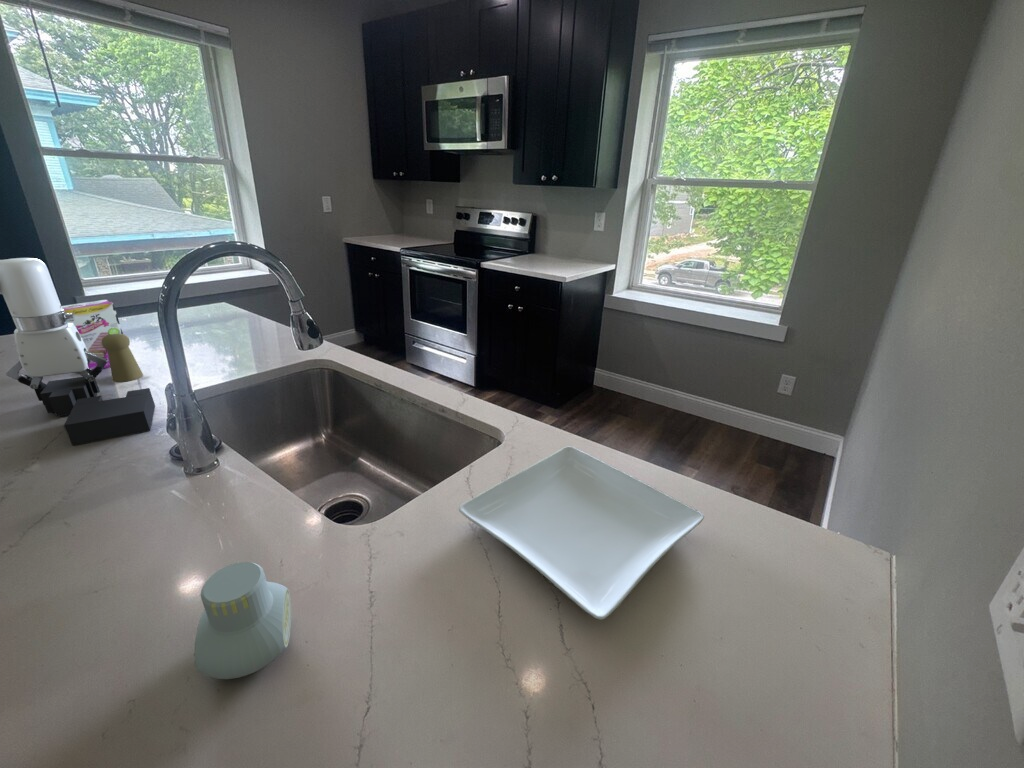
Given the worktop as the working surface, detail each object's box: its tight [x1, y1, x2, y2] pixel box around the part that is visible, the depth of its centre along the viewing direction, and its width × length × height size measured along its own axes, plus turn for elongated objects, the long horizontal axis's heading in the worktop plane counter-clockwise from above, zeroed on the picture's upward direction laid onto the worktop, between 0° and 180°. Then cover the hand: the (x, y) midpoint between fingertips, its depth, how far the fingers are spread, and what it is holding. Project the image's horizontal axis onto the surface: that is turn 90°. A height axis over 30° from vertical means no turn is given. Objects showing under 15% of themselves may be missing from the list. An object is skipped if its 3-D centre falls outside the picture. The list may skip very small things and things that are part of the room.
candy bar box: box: [61, 299, 124, 370], centre depth 118 cm, size 11×5×16 cm, turn 144°
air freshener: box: [193, 561, 292, 680], centre depth 51 cm, size 11×8×10 cm
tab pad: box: [40, 376, 90, 417], centre depth 101 cm, size 7×10×4 cm
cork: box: [102, 333, 144, 383], centre depth 114 cm, size 6×6×11 cm
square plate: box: [458, 445, 705, 621], centre depth 71 cm, size 27×27×4 cm
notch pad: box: [63, 387, 156, 447], centre depth 95 cm, size 12×12×4 cm
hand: (71, 398), depth 102 cm, fingers closed on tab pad, 7 cm apart
